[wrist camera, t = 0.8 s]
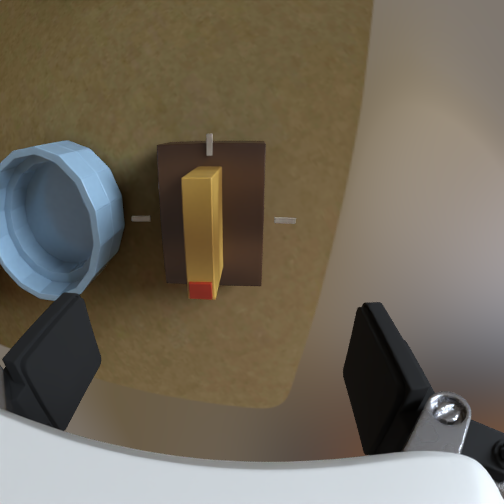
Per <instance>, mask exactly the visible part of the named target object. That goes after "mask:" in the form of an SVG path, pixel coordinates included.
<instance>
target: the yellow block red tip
mask: <svg viewBox="0 0 504 504" xmlns="http://www.w3.org/2000/svg"><path fill="white" fill-rule="evenodd" d="M181 189H182V213H183V231H184V247H185V262H186V275H187V287H188V298H189V299H204V300H215V299H216V295H217V290H218V286H219V282H220V278H221V274H222V269H223V228H222V167H221V166H200V167H197V168H195V169H194V170H192V171H191V172H189V173H188V174H187V175H185V176H184V177H182V178H181Z"/></svg>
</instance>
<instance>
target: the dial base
mask: <svg viewBox="0 0 504 504" xmlns="http://www.w3.org/2000/svg"><path fill="white" fill-rule="evenodd" d="M265 147H266V144H265V142H264V141H212V134H206V141H190V142H169V143H164V144H160V145H157V160H158V184H159V201H160V216H161V229H162V241H163V252H164V262H165V272H166V281H167V283H179V284H187V275H186V262H185V247H184V231H183V213H182V189H181V178H182V177H184V176H185V175H187V174H188V173H189V172H191V171H192V170H194V169H195V168H197V167H200V166H221V167H222V228H223V269H222V274H221V278H220V282H219V285H234V286H261V282H262V253H263V221H264V186H265ZM132 221H151V216H132ZM295 222H296V218H283V217H274V223H291V224H295Z"/></svg>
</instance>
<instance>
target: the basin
mask: <svg viewBox="0 0 504 504" xmlns="http://www.w3.org/2000/svg"><path fill="white" fill-rule="evenodd" d="M124 225H125V222H124V213H123V202H122V195H121V192H120V190H119V188H118V186H117V184H116V181H115V179H114V177H113V175H112V172H111V170H110V168H109V167H108V166H107V165H106V164H105V163H104V162H103V161H102V160H101V159H100V158H99V157H98V156H97V155H96V154H95V153H94V152H93V151H92V150H91V149H89V148H87V147H84V146H82V145H79V144H76V143H73V142H70V141H60V142H55V143H49V144H44V145H39V146H34V147H29V148H24V149H19V150H15V151H13V152H11V153H10V154H9V155H8V156H7V157H6V158H5V159H4V160H3V161H2V162H1V163H0V264H1V266H2V267H3V269H4V270H5V271H6V272H7V273H8V274H9V276H10V277H11V278H12V279H13V280H14V281H15V282H16V283H17V284H18V286H19V287H21V288H22V289H24V290H26V291H27V292H29V293H31V294H33V295H34V296H36V297H38V298H40V299H45V300H52V301H55V300H56V299H57V298H58V297H59V296H60V295H61V294H62V293H64V292H68V293H77V294H81V293H82V292H83V291H84V290H85V289H86V288H87V287H88V286H89V285H90V283H91V282H92V281H93V280H94V279H95V278H96V277H97V276H98V275H99V274H100V273H101V272H102V271H103V269H104V268H105V267H106V266H107V265H108V263H109V262H110V261H111V260H112V258H113V257H114V256H115V255H116V253H117V252H118V250H119V246H120V242H121V238H122V234H123V230H124Z"/></svg>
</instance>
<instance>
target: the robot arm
mask: <svg viewBox="0 0 504 504" xmlns="http://www.w3.org/2000/svg"><path fill="white" fill-rule="evenodd" d="M2 360H3V362H4V364H5V366H6V367H5V368H4V369H3V368H2V367H1V366H0V504H504V433H502V432H500V431H497V430H495V429H493V428H490V427H488V426H485V425H483V424H481V423H478V422H476V421H473V420H471V409H470V406H469V405H468V403H467V401H466V400H464V399H463V398H462V397H461V396H459V395H457V394H455V393H452V392H438V393H434V391H433V389H432V387H431V385H430V383H429V381H428V380H427V378H426V376H425V374H424V372H423V370H422V369H421V367H420V365H419V363H418V361H417V360H416V358H415V356H414V354H413V353H412V351H411V349H410V347H409V346H408V344H407V342H406V341H405V340H403V338H402V336H401V335H400V333H399V331H398V330H397V328H396V326H395V325H394V323H393V321H392V319H391V318H390V316H389V315H388V313H387V311H386V310H385V308H384V307H383V305H382V303H380V302H373V303H364V304H363V305H362V307H359V308H358V309H357V312H356V316H355V321H354V326H353V330H352V335H351V339H350V343H349V348H348V352H347V356H346V360H345V364H344V368H343V377H344V380H345V384H346V388H347V391H348V395H349V398H350V402H351V406H352V409H353V413H354V417H355V420H356V424H357V428H358V432H359V435H360V440H361V443H362V447H363V451H364V453H365V455H368V456H361V457H351V458H341V459H329V460H313V461H292V462H247V461H246V462H245V461H244V462H243V461H225V460H211V459H201V458H191V457H182V456H174V455H167V454H161V453H155V452H149V451H143V450H138V449H132V448H128V447H123V446H118V445H113V444H109V443H105V442H101V441H97V440H93V439H89V438H86V437H82V436H79V435H75V434H71V433H68V432H65V431H64V430H65V429H66V428H67V426H68V424H69V422H70V420H71V418H72V416H73V414H74V413H75V411H76V409H77V407H78V405H79V403H80V401H81V399H82V397H83V396H84V393H85V392H86V390H87V388H88V386H89V384H90V383H91V381H92V379H93V377H94V375H95V374H96V372H97V370H98V368H99V366H100V364H101V355H100V352H99V349H98V346H97V343H96V340H95V337H94V333H93V330H92V327H91V323H90V320H89V316H88V313H87V309H86V305H85V302H84V299H83V298H81V297H80V295H79V294H77V293H68V292H64V293H62V294H61V295H60V296H59V297H58V298H57V299H56V300H55V301H54V302H53V303H52V304H51V305H50V307H49V308H48V309H47V310H46V311H45V312H44V313H43V314H42V315H41V316H40V317H39V318H38V319H37V320H36V321H35V322H34V324H33V325H32V326H31V327H30V328H29V329H28V330H27V331H26V332H25V333H24V335H23V336H22V337H21V338H20V339H19V340H18V341H17V342H16V344H15V345H14V346H13V347H12V348H11V349H10V351H9V352H8V353H7V354H6V355H5V356H4V358H3V359H2Z"/></svg>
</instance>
